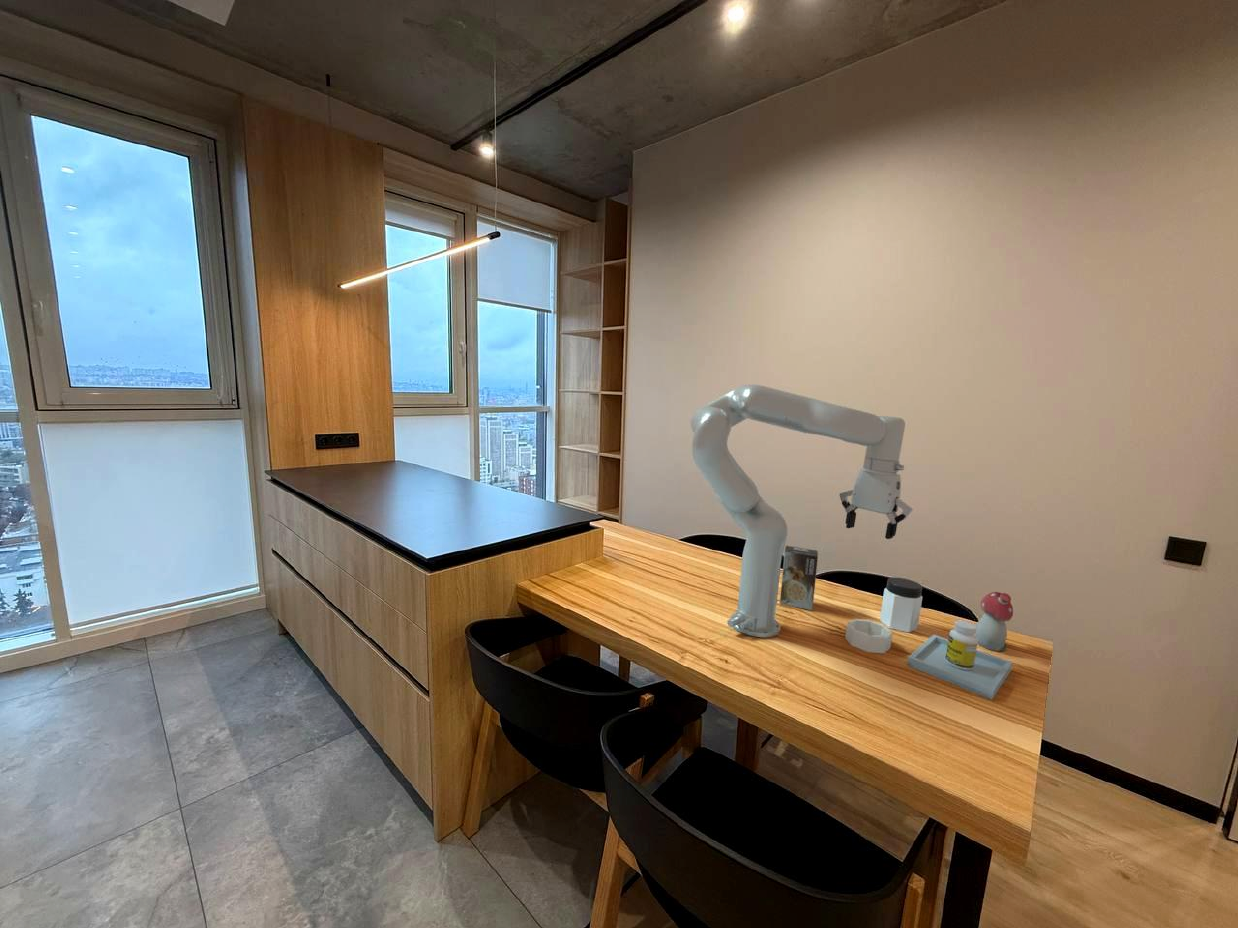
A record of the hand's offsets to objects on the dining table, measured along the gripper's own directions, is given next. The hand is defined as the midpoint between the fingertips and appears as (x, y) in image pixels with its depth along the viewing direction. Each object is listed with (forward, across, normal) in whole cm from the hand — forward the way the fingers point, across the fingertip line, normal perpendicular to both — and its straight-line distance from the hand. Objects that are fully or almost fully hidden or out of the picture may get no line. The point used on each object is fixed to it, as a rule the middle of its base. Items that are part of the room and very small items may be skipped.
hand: (868, 532), depth 124 cm
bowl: (+27, -5, +3) cm, 27 cm away
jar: (+26, -6, -15) cm, 31 cm away
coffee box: (+27, +18, -3) cm, 33 cm away
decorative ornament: (+26, -24, -23) cm, 42 cm away
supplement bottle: (+25, -23, -3) cm, 34 cm away
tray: (+26, -23, -3) cm, 35 cm away
